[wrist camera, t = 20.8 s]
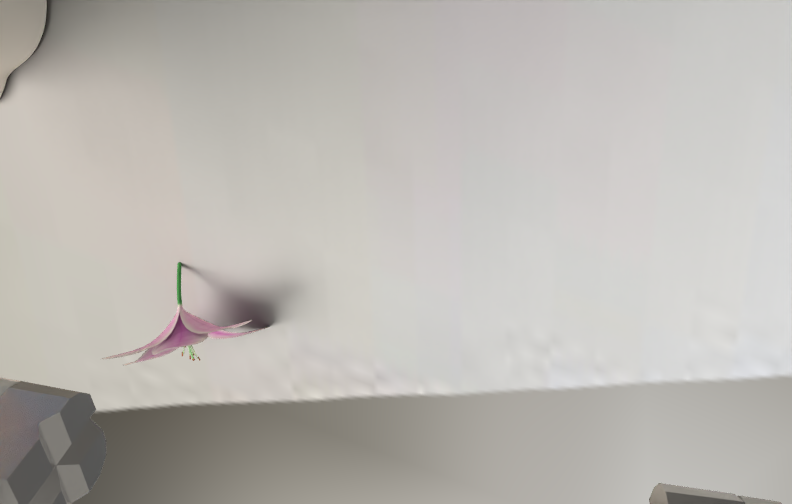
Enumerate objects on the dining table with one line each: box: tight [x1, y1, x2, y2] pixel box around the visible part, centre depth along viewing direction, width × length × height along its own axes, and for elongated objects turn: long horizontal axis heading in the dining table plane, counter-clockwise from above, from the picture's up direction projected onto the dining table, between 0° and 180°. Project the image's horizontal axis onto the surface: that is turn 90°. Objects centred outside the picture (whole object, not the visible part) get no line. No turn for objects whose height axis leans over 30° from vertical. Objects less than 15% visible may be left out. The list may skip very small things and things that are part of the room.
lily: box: [102, 263, 268, 365], centre depth 52 cm, size 12×12×10 cm
